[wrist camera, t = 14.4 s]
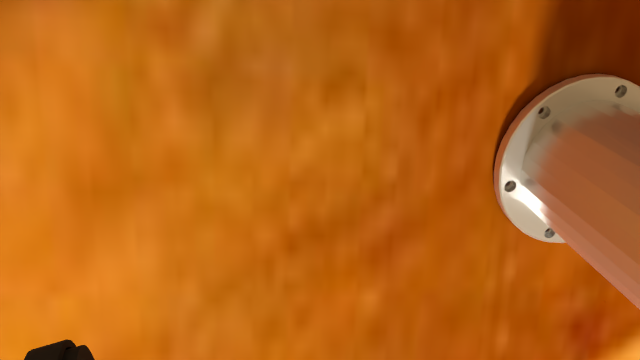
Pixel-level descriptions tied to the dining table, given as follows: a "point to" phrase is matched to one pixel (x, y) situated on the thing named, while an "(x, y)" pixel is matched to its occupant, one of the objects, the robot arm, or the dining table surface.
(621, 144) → the robot arm
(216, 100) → the dining table surface
